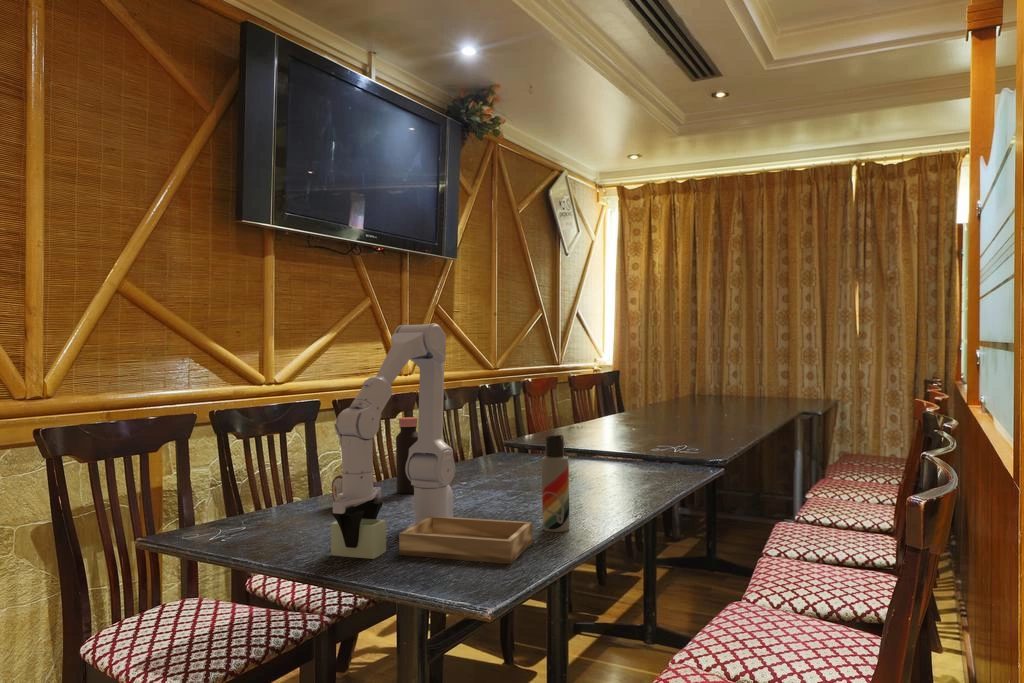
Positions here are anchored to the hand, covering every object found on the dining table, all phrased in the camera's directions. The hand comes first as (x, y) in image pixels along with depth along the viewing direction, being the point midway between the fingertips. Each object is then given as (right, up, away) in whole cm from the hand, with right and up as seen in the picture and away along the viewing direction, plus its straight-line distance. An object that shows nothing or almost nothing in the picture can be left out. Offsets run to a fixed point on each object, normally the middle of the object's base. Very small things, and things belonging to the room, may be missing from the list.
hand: (358, 543), depth 132 cm
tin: (-9, -3, +37) cm, 38 cm away
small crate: (0, -2, 0) cm, 2 cm away
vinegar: (+1, -3, +56) cm, 56 cm away
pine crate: (+21, -2, +2) cm, 21 cm away
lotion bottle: (+38, -2, +15) cm, 41 cm away
